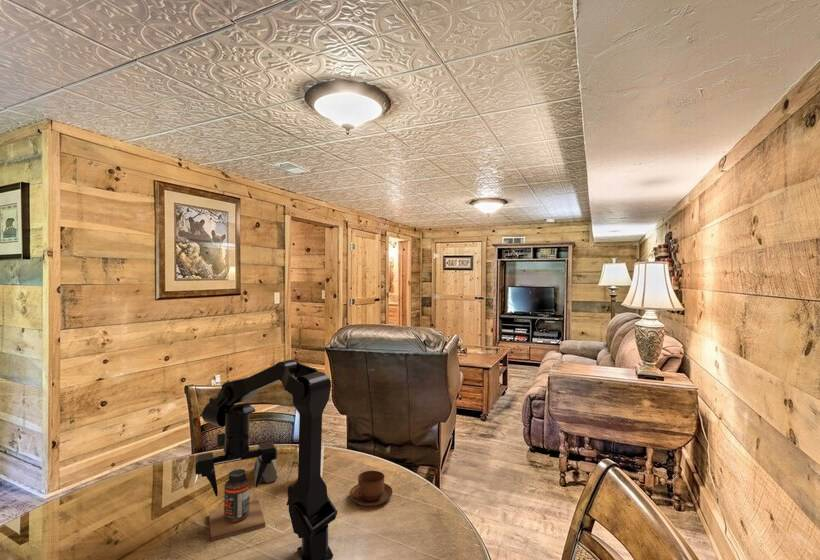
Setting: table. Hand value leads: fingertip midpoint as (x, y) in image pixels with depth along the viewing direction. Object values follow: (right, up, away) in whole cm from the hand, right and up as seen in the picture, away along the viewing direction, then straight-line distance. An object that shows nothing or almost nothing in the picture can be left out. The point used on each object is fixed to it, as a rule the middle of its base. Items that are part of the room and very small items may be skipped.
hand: (236, 491), depth 102 cm
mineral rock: (-1, -8, +25) cm, 27 cm away
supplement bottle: (0, -7, 0) cm, 7 cm away
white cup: (+14, -8, +21) cm, 26 cm away
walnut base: (0, -8, 0) cm, 8 cm away
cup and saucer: (+33, -8, +11) cm, 36 cm away
